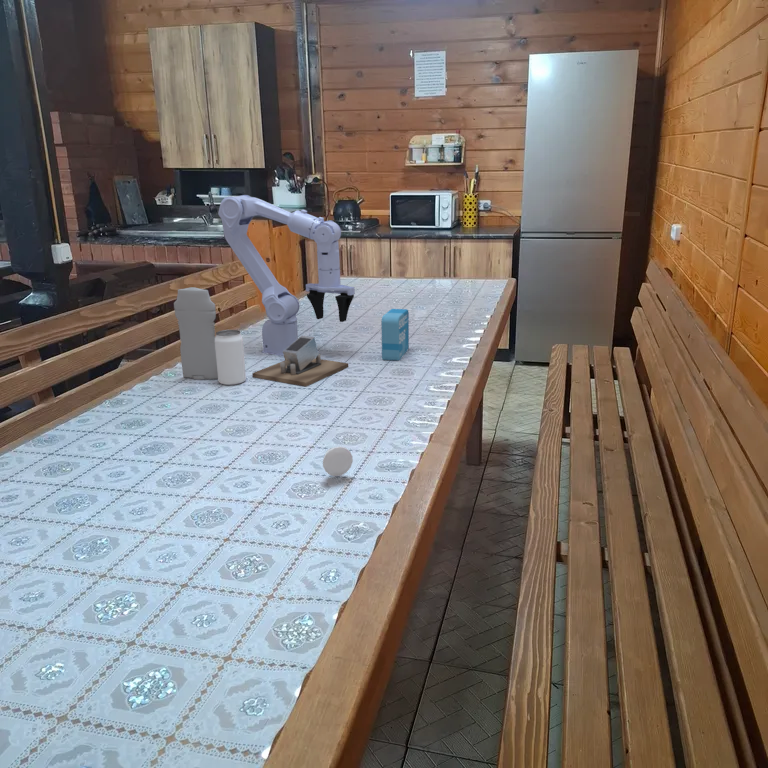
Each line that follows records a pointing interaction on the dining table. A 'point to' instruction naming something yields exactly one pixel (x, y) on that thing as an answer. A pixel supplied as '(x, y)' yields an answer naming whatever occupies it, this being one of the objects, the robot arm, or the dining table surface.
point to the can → (230, 357)
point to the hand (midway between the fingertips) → (331, 319)
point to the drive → (301, 352)
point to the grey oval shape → (337, 461)
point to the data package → (395, 334)
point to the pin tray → (301, 372)
